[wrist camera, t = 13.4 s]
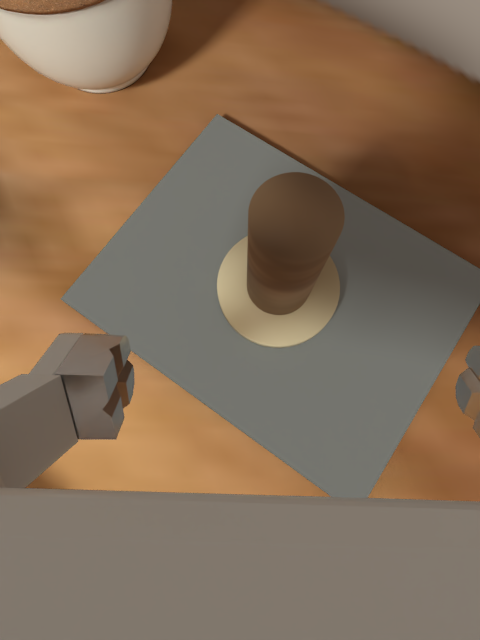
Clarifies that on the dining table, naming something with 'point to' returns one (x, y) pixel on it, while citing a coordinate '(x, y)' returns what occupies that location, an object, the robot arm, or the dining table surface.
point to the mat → (290, 362)
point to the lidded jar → (86, 39)
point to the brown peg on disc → (284, 263)
